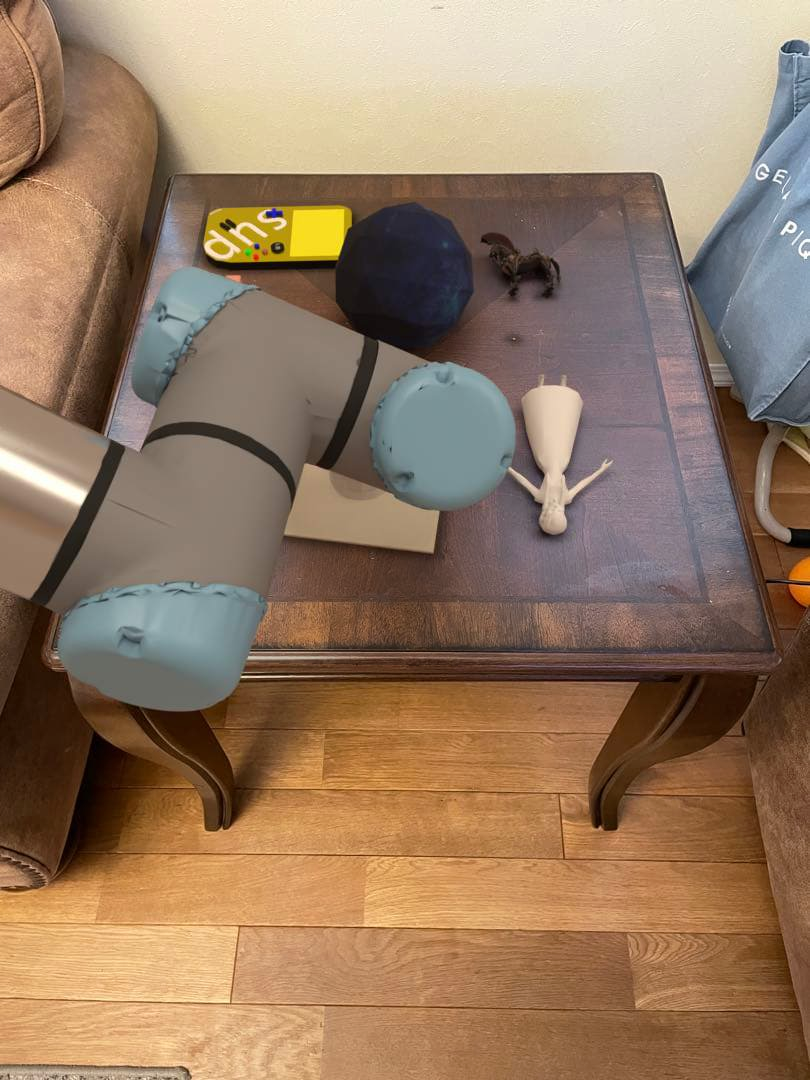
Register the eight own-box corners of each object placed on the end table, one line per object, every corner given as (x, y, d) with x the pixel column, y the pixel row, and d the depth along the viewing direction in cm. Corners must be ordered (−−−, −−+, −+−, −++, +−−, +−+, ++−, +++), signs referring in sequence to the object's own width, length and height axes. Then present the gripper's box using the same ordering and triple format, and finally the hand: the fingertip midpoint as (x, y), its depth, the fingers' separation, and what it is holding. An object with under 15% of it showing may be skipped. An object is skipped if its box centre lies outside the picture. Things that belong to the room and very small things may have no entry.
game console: (351, 211, 102) (351, 200, 100) (353, 267, 96) (352, 256, 94) (209, 216, 101) (207, 206, 100) (202, 273, 95) (199, 262, 94)
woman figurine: (613, 369, 79) (624, 524, 70) (604, 398, 83) (613, 549, 74) (496, 363, 80) (492, 516, 71) (492, 392, 84) (488, 541, 75)
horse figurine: (570, 349, 91) (545, 246, 97) (582, 327, 88) (555, 222, 93) (495, 351, 90) (474, 246, 95) (505, 328, 86) (482, 221, 92)
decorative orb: (473, 233, 90) (394, 143, 79) (518, 320, 82) (437, 233, 71) (378, 312, 96) (292, 238, 85) (411, 400, 88) (320, 331, 77)
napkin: (262, 533, 74) (261, 531, 74) (299, 407, 83) (299, 405, 83) (433, 553, 73) (433, 552, 73) (452, 423, 82) (453, 421, 81)
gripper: (226, 526, 53) (230, 490, 73) (574, 443, 57) (485, 431, 77) (197, 414, 51) (209, 409, 72) (557, 336, 55) (471, 353, 76)
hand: (352, 421), depth 75 cm, fingers open, 13 cm apart
